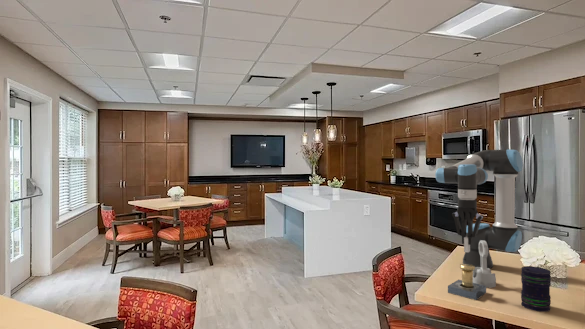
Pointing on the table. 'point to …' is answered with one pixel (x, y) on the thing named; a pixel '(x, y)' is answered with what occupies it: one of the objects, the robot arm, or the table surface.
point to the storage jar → (535, 288)
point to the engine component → (484, 268)
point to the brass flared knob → (467, 275)
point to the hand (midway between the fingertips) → (467, 251)
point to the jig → (467, 290)
